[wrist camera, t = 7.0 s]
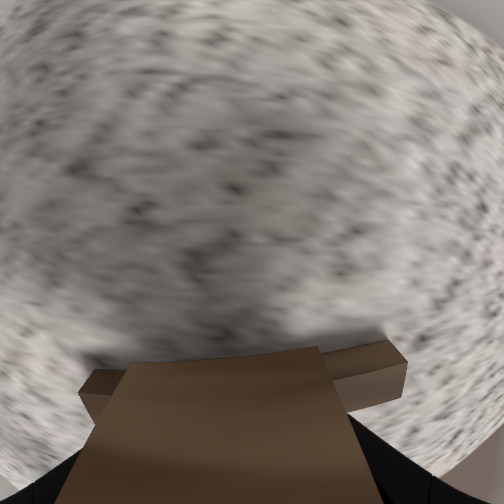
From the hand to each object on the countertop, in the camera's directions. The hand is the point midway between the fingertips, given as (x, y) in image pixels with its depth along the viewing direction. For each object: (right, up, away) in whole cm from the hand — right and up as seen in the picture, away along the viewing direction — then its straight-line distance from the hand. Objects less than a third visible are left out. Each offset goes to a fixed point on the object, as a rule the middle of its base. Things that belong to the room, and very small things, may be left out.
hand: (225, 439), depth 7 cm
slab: (0, 0, +2) cm, 2 cm away
